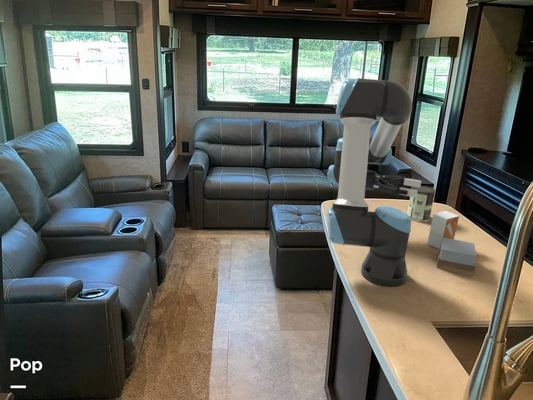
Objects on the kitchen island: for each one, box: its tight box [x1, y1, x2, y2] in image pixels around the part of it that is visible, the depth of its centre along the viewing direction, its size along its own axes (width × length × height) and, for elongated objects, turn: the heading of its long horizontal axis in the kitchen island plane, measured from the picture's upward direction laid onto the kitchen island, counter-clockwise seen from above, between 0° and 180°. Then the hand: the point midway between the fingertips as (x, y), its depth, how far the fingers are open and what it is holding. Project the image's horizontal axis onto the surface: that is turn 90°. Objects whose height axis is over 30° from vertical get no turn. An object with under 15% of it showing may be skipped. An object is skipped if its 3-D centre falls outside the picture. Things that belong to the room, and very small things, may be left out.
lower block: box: [436, 248, 476, 277], centre depth 153 cm, size 12×12×4 cm
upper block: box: [440, 237, 477, 266], centre depth 151 cm, size 11×11×4 cm
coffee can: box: [406, 185, 436, 223], centre depth 192 cm, size 10×10×14 cm
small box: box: [426, 210, 460, 250], centre depth 166 cm, size 8×6×13 cm
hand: (419, 189), depth 165 cm, fingers open, 13 cm apart
